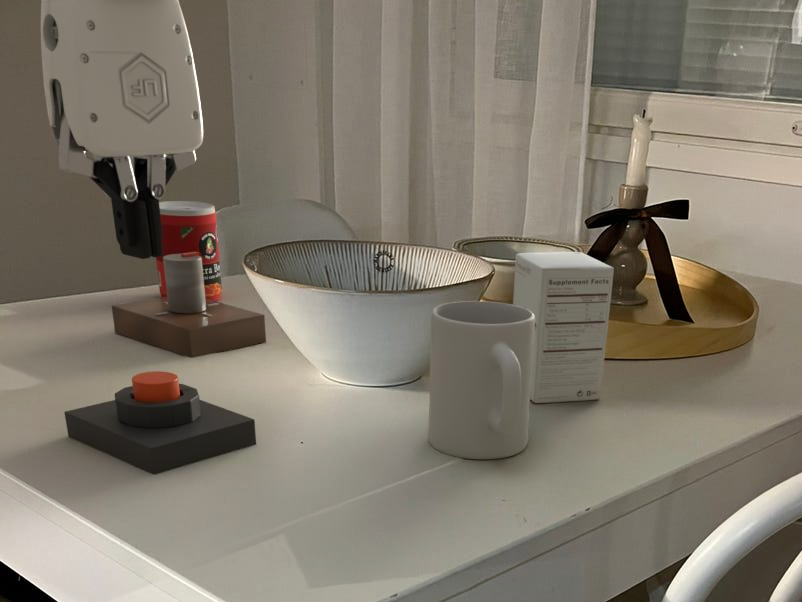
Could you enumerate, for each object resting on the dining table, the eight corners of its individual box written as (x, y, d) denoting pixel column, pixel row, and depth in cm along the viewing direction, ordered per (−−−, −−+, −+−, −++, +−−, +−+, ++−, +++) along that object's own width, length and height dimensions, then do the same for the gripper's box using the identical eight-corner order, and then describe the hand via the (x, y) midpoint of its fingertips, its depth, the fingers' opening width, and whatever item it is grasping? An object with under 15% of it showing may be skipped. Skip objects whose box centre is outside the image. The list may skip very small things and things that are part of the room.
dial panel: (114, 332, 115) (110, 303, 113) (189, 319, 121) (186, 291, 120) (191, 358, 107) (188, 327, 106) (266, 342, 114) (264, 313, 112)
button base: (68, 437, 85) (60, 389, 83) (169, 411, 92) (164, 367, 90) (154, 475, 79) (147, 425, 77) (256, 444, 86) (253, 397, 84)
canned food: (192, 307, 126) (182, 212, 121) (146, 298, 130) (135, 204, 124) (236, 297, 132) (229, 206, 127) (191, 288, 136) (182, 199, 130)
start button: (125, 398, 83) (122, 376, 82) (162, 389, 86) (160, 368, 85) (151, 408, 81) (149, 386, 81) (189, 399, 84) (187, 377, 83)
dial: (183, 315, 110) (177, 259, 107) (161, 308, 112) (154, 253, 110) (213, 310, 113) (209, 254, 110) (191, 303, 115) (186, 249, 112)
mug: (416, 430, 90) (417, 302, 85) (506, 423, 93) (513, 298, 87) (459, 479, 81) (464, 338, 75) (559, 470, 83) (570, 333, 78)
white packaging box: (506, 382, 104) (513, 251, 98) (573, 378, 106) (584, 250, 100) (531, 404, 98) (541, 266, 92) (602, 400, 100) (616, 265, 94)
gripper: (31, -43, 62) (80, 275, 71) (231, -25, 72) (251, 251, 81) (-31, -41, 66) (23, 259, 75) (167, -25, 76) (193, 238, 85)
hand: (141, 254), depth 78 cm, fingers closed
